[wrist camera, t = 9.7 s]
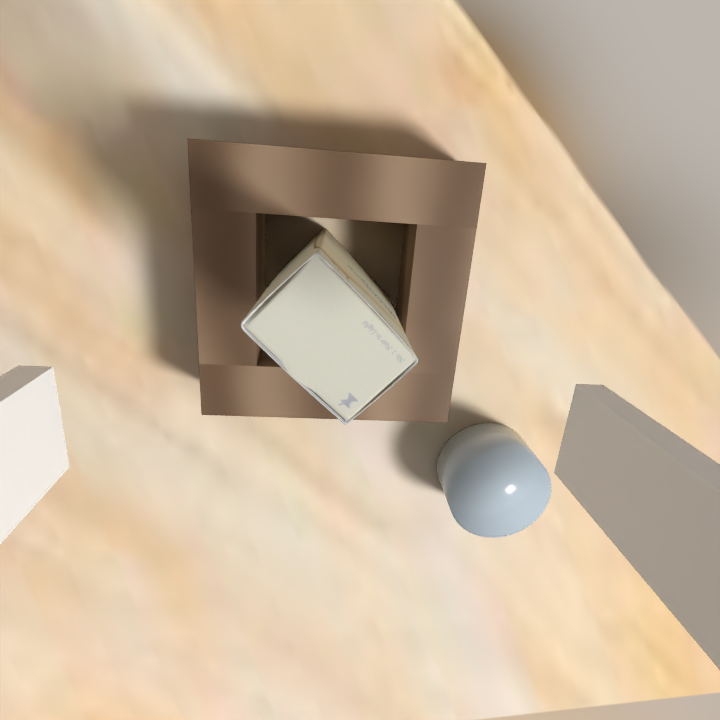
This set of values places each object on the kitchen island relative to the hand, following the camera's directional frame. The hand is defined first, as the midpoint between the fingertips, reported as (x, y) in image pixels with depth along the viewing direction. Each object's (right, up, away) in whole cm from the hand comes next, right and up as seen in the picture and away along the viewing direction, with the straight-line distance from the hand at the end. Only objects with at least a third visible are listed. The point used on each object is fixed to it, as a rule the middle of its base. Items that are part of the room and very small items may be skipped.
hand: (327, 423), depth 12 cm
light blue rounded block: (+10, -6, +23) cm, 26 cm away
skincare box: (-1, +6, +18) cm, 19 cm away
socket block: (-1, +6, +18) cm, 19 cm away
